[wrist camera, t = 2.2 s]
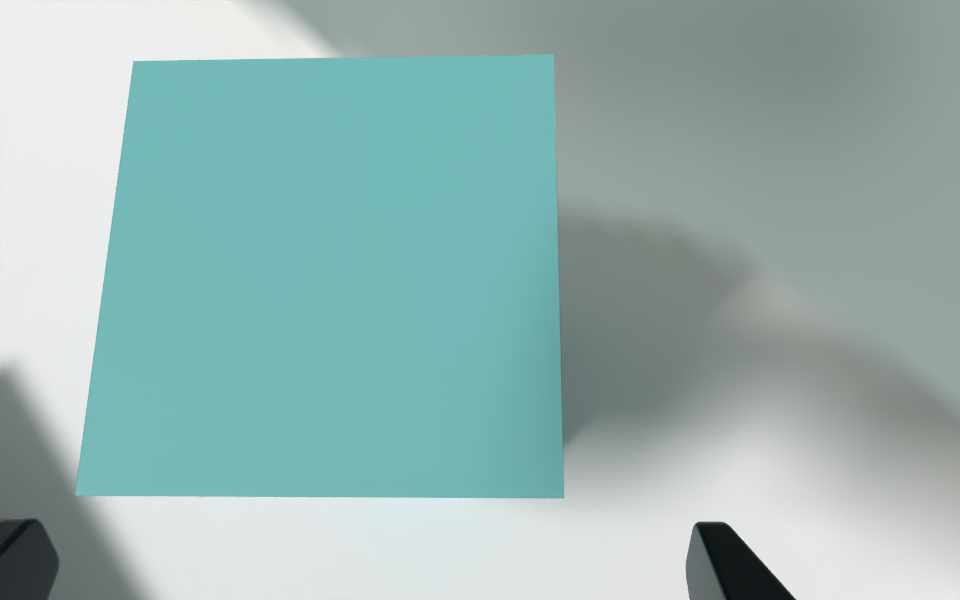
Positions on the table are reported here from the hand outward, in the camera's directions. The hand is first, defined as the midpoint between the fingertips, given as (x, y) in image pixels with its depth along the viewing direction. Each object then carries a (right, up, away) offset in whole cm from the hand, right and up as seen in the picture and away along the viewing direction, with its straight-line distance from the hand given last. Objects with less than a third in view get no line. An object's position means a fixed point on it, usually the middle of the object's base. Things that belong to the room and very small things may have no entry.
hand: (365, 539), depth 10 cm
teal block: (0, +1, +11) cm, 11 cm away
